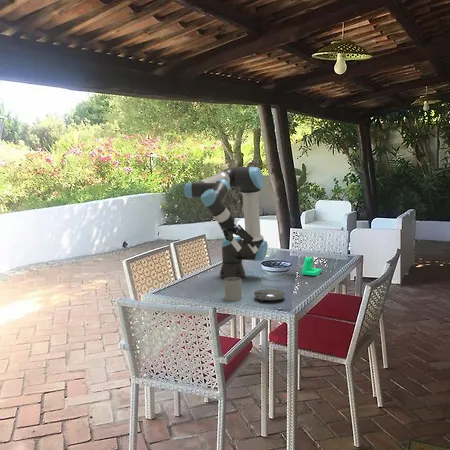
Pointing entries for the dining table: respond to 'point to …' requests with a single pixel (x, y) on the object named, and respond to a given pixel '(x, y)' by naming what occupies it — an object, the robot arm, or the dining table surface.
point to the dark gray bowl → (269, 295)
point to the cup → (233, 289)
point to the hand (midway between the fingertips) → (247, 250)
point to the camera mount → (310, 267)
